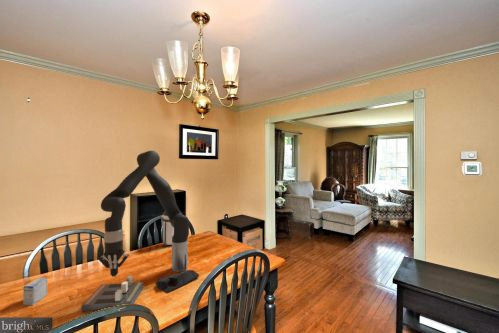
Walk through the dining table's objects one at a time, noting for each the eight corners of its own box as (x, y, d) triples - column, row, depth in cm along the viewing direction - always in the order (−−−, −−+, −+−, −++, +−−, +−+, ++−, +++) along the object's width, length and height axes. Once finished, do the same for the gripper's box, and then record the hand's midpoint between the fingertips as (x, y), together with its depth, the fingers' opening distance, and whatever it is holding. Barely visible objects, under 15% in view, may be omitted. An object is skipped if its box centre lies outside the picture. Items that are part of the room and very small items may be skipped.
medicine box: (37, 295, 109) (37, 277, 109) (47, 295, 110) (47, 277, 110) (22, 305, 102) (22, 286, 102) (33, 305, 102) (33, 286, 102)
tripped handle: (127, 289, 109) (127, 281, 109) (125, 292, 107) (125, 284, 107) (123, 290, 109) (123, 281, 109) (121, 292, 107) (121, 284, 107)
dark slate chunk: (202, 280, 127) (203, 271, 127) (164, 295, 112) (164, 285, 112) (189, 270, 138) (189, 262, 138) (152, 283, 123) (152, 274, 123)
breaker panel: (143, 287, 117) (143, 274, 117) (131, 308, 101) (131, 292, 101) (101, 290, 114) (101, 276, 114) (81, 312, 98) (81, 295, 98)
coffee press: (170, 249, 171) (170, 209, 170) (157, 244, 179) (157, 207, 179) (188, 242, 185) (188, 206, 185) (175, 239, 194) (175, 204, 193)
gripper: (131, 235, 112) (132, 270, 112) (102, 237, 109) (102, 273, 110) (125, 241, 104) (126, 278, 104) (94, 242, 102) (94, 281, 102)
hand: (114, 275), depth 107 cm, fingers closed
